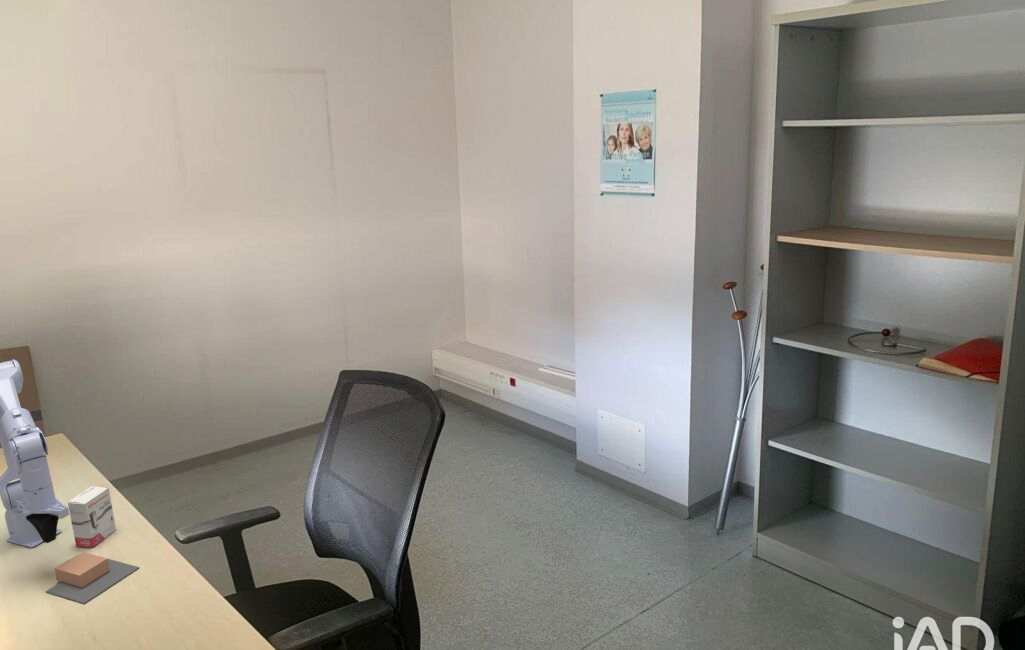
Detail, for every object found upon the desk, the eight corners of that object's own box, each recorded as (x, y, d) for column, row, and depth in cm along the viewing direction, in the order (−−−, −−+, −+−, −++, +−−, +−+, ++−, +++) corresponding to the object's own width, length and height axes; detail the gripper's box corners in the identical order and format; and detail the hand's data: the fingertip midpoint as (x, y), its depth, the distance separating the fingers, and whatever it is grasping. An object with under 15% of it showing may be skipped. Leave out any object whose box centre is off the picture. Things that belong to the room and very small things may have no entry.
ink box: (93, 548, 186) (84, 503, 182) (75, 547, 187) (65, 502, 183) (118, 529, 194) (109, 485, 191) (100, 528, 195) (91, 484, 192)
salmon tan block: (54, 568, 172) (79, 575, 169) (82, 551, 178) (107, 558, 175) (57, 581, 173) (82, 588, 169) (85, 564, 179) (110, 571, 176)
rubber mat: (45, 592, 169) (45, 591, 169) (102, 558, 181) (101, 557, 181) (84, 604, 164) (84, 603, 164) (139, 568, 177) (139, 567, 176)
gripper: (-3, 488, 171) (11, 543, 175) (42, 499, 166) (55, 556, 169) (28, 474, 178) (40, 528, 181) (72, 484, 172) (84, 539, 175)
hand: (50, 540), depth 176 cm, fingers closed
